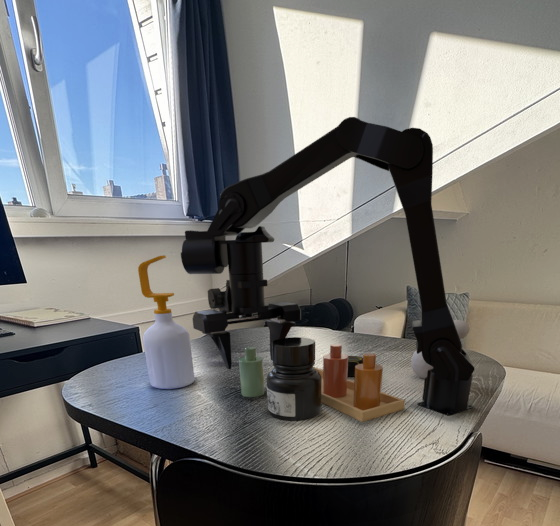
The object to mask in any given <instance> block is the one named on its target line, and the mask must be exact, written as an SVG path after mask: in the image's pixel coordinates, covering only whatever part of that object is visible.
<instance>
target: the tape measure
mask: <svg viewBox="0 0 560 526" xmlns="http://www.w3.org/2000/svg"><path fill="white" fill-rule="evenodd" d="M347 356H348V376H347V377H355V366H356V365H358V364H363V356H359V355H358V356H357V355H347Z"/></svg>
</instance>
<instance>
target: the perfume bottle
mask: <svg viewBox="0 0 560 526" xmlns="http://www.w3.org/2000/svg"><path fill="white" fill-rule="evenodd" d="M453 321H454V324H455V327H456V330H457V332H458V335H459V338H460V340H461V339H464V338H466V337H467V336H468V335H469V333H470V326H469V325H470V324H469V323H468V322H467V321H465V320H461V319H454V320H453ZM410 367H411V369H412V371H413V373H414V374H415V376H416V377H418V378H420V379H422V380H425V378H426V377H427V372H428V370H429V369H433V367H432V366H431V365H429V364H427V363H426V362H425V361H424V359H423V356H422V351H421V352H420V353H419V354H417V349H416V350H414V352H413V354H412V356H411V360H410Z"/></svg>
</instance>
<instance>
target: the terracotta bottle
mask: <svg viewBox="0 0 560 526" xmlns="http://www.w3.org/2000/svg"><path fill="white" fill-rule="evenodd" d="M342 349H343V346H342V344H340V343H333V344H330V345H329V353H327V354H325V355H323V356H322V366H323V367H322V370H323V393H324V394H326V395H329V396H331V397H333V398H340V397H344V396H346V395H347V379H348V377H349V376H348V356H349V355H347V354H344V353H342V351H343V350H342Z"/></svg>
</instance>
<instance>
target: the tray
mask: <svg viewBox="0 0 560 526" xmlns="http://www.w3.org/2000/svg"><path fill="white" fill-rule="evenodd" d="M313 367H314V368H315V369H316V370H317V371H318V372H319V373H320V375H321V379H322V382H321V404H324V405H325V406H328V407H329V408H332V409H334V410H336V411H338V412H341V413H343V414H344V415H347V416H348V417H351V418H353V419H355V420H358V421H359V422H361V423H363V422H366V421H370V420H374V419H376V418H380V417H383V416H386V415H390V414H393V413H396V412H399V411H403V410H405V404H406V400H405V399H403V398H400V397H398V396H396V395H395V396H394V395H392V394H389V393H386V392H384V391H381V400H380V406H378V407H374V408H371V409H367V410H364V411H363V410H360V409H358V408H356V407H354V406H353V400H354V380H351V379H348V378H347V395H346V396H344V397H340V398H333V397H331V396H329V395H326V394H324V393H323V369H322V368H318V367H315V366H313Z"/></svg>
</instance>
